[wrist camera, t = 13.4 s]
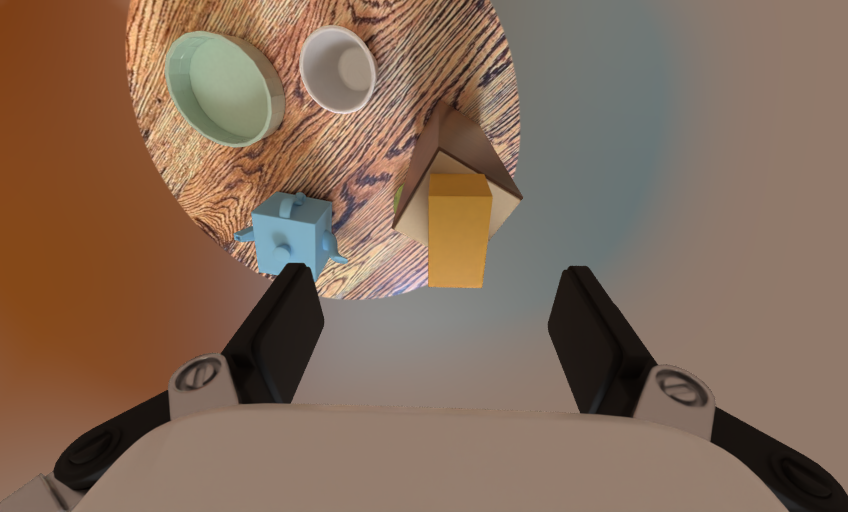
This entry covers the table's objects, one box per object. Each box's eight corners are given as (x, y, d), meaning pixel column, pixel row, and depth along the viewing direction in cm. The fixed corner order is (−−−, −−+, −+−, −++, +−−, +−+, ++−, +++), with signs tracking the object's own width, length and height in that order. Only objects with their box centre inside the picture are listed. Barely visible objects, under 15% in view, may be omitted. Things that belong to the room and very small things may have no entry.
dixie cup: (358, 15, 39) (335, 3, 31) (400, 76, 42) (390, 80, 34) (314, 63, 42) (282, 64, 34) (357, 116, 45) (338, 129, 37)
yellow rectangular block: (430, 173, 21) (428, 195, 17) (484, 173, 20) (493, 196, 17) (430, 255, 24) (428, 287, 21) (476, 256, 24) (482, 288, 21)
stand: (439, 98, 44) (438, 147, 20) (480, 125, 45) (525, 200, 21) (415, 143, 47) (390, 230, 23) (454, 166, 49) (468, 270, 25)
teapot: (255, 170, 50) (213, 196, 41) (365, 191, 52) (348, 221, 42) (264, 251, 59) (231, 288, 49) (358, 267, 60) (343, 307, 51)
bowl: (195, 10, 39) (169, 5, 36) (297, 70, 43) (283, 72, 39) (183, 110, 46) (160, 114, 42) (272, 156, 49) (258, 164, 45)
